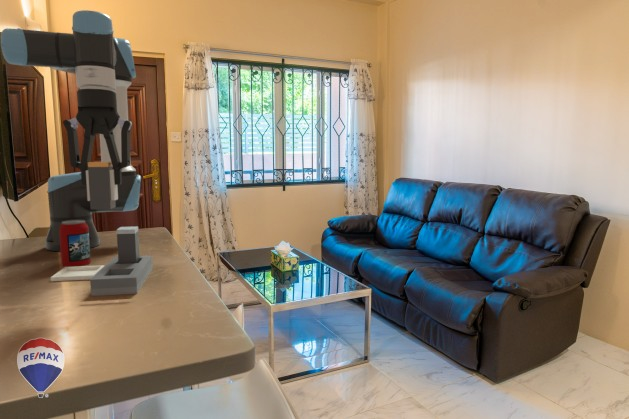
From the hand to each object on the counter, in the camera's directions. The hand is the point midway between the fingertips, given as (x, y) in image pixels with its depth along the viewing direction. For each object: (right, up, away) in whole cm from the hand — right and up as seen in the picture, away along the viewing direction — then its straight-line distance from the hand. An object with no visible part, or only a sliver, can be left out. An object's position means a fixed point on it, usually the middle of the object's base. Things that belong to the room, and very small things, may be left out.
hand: (103, 199), depth 96 cm
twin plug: (+1, -16, +11) cm, 20 cm away
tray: (-11, -18, +10) cm, 24 cm away
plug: (0, -2, 0) cm, 2 cm away
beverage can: (-17, -17, +20) cm, 32 cm away
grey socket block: (+2, -19, +6) cm, 20 cm away
